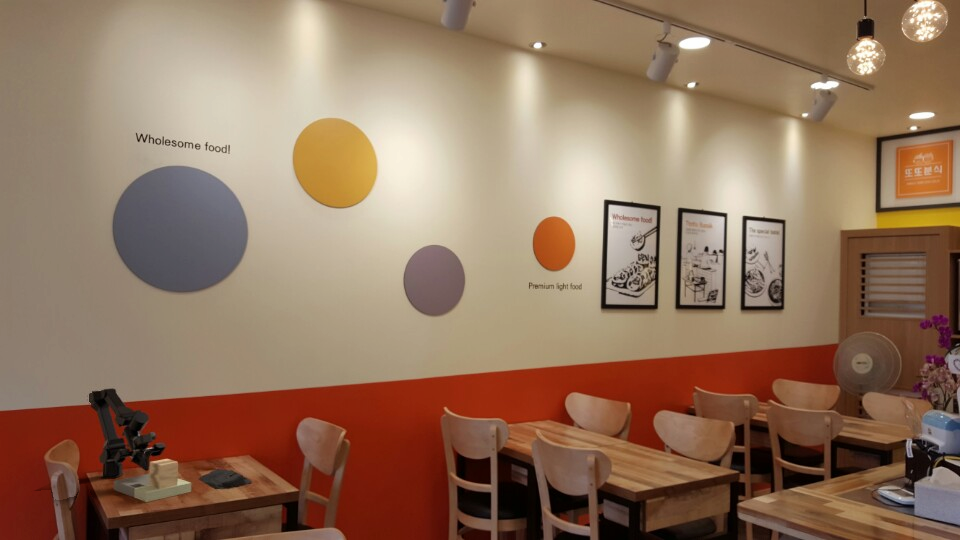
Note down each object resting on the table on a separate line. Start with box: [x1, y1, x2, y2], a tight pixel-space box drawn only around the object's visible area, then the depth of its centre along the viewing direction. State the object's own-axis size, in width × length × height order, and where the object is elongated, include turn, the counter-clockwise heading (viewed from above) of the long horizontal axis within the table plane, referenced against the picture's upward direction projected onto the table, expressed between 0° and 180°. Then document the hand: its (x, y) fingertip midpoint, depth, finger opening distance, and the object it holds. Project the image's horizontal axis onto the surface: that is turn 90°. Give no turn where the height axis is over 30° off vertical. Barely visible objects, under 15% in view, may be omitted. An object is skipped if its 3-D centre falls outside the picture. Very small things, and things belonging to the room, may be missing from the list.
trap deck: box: [113, 473, 192, 503], centre depth 280 cm, size 25×18×4 cm
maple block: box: [149, 458, 179, 489], centre depth 276 cm, size 8×7×9 cm
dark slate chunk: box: [198, 468, 253, 490], centre depth 296 cm, size 15×22×5 cm
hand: (147, 470), depth 283 cm, fingers closed
